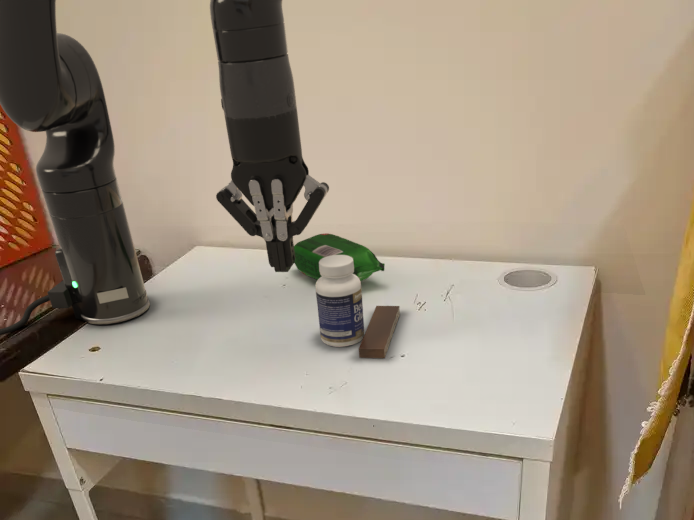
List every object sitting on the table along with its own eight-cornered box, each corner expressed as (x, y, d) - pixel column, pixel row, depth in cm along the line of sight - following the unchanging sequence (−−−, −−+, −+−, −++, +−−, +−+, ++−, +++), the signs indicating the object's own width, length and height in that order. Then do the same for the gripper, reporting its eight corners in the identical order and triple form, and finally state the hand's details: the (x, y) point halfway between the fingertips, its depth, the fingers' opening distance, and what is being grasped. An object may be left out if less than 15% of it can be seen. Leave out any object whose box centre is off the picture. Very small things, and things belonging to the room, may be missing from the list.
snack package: (347, 301, 97) (344, 263, 94) (286, 271, 108) (282, 236, 105) (388, 287, 100) (387, 250, 97) (326, 259, 111) (323, 225, 108)
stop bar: (359, 357, 84) (358, 348, 83) (376, 314, 93) (376, 305, 92) (384, 358, 83) (384, 349, 82) (399, 314, 92) (399, 305, 92)
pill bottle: (365, 346, 86) (359, 267, 80) (320, 349, 86) (311, 270, 80) (364, 327, 90) (359, 250, 84) (322, 330, 90) (313, 253, 85)
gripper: (330, 96, 76) (344, 257, 86) (212, 103, 79) (240, 258, 89) (313, 111, 70) (331, 282, 80) (186, 118, 73) (219, 282, 83)
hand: (283, 269), depth 84 cm, fingers closed
